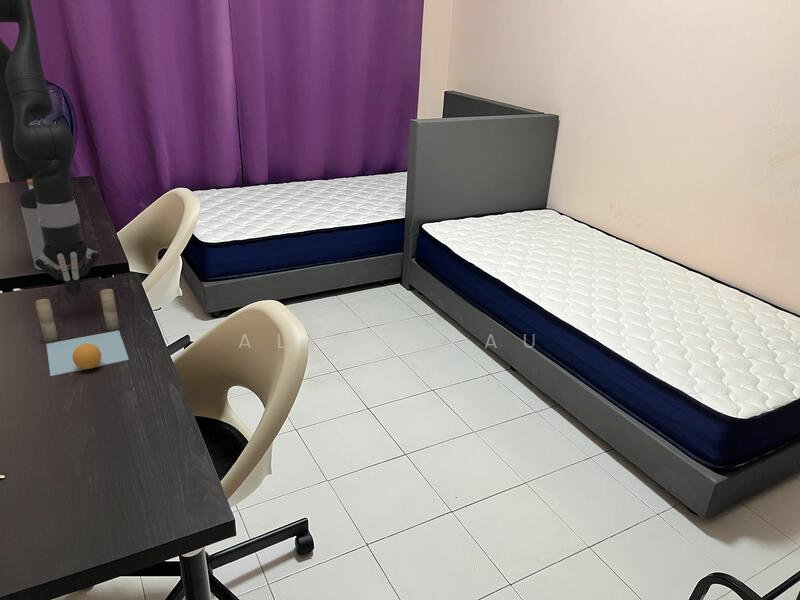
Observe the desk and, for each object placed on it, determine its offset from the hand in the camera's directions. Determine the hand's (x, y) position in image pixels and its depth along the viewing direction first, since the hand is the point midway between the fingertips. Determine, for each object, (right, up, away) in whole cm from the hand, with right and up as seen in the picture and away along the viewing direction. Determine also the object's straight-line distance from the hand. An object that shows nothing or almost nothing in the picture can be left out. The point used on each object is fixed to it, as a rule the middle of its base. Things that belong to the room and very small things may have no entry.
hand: (74, 293), depth 135 cm
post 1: (-1, -10, -8) cm, 13 cm away
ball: (+12, -13, -18) cm, 25 cm away
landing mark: (+9, -12, -12) cm, 19 cm away
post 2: (+10, -8, -2) cm, 13 cm away
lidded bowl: (-52, +33, +81) cm, 102 cm away
